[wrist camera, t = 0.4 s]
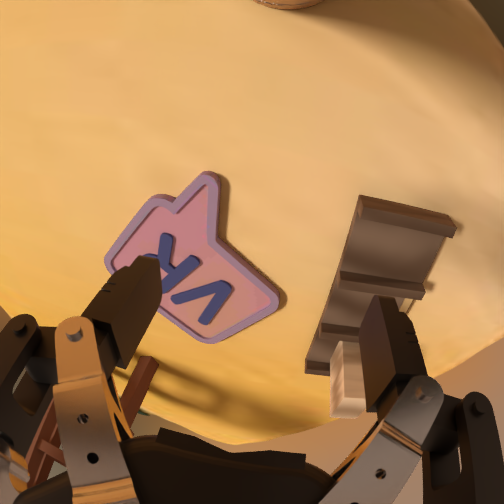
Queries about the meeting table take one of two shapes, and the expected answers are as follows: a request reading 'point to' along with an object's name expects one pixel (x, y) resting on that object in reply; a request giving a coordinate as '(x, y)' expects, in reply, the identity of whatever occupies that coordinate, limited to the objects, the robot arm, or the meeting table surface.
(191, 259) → the icon
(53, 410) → the stool
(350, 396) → the oak block
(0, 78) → the meeting table surface
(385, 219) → the notched ledge
